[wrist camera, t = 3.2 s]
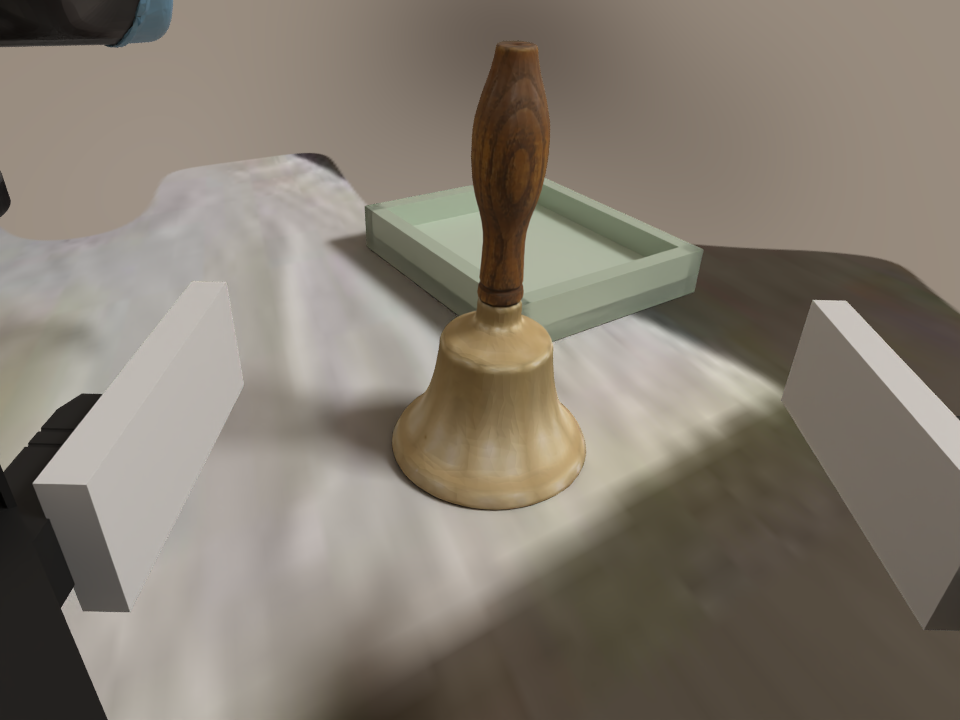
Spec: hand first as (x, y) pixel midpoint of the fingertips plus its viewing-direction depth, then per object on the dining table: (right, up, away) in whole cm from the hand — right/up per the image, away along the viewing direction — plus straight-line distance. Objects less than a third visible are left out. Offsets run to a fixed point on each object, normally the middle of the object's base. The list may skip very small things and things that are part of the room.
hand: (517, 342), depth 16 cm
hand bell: (-1, -4, +15) cm, 15 cm away
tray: (+2, +5, +29) cm, 30 cm away
